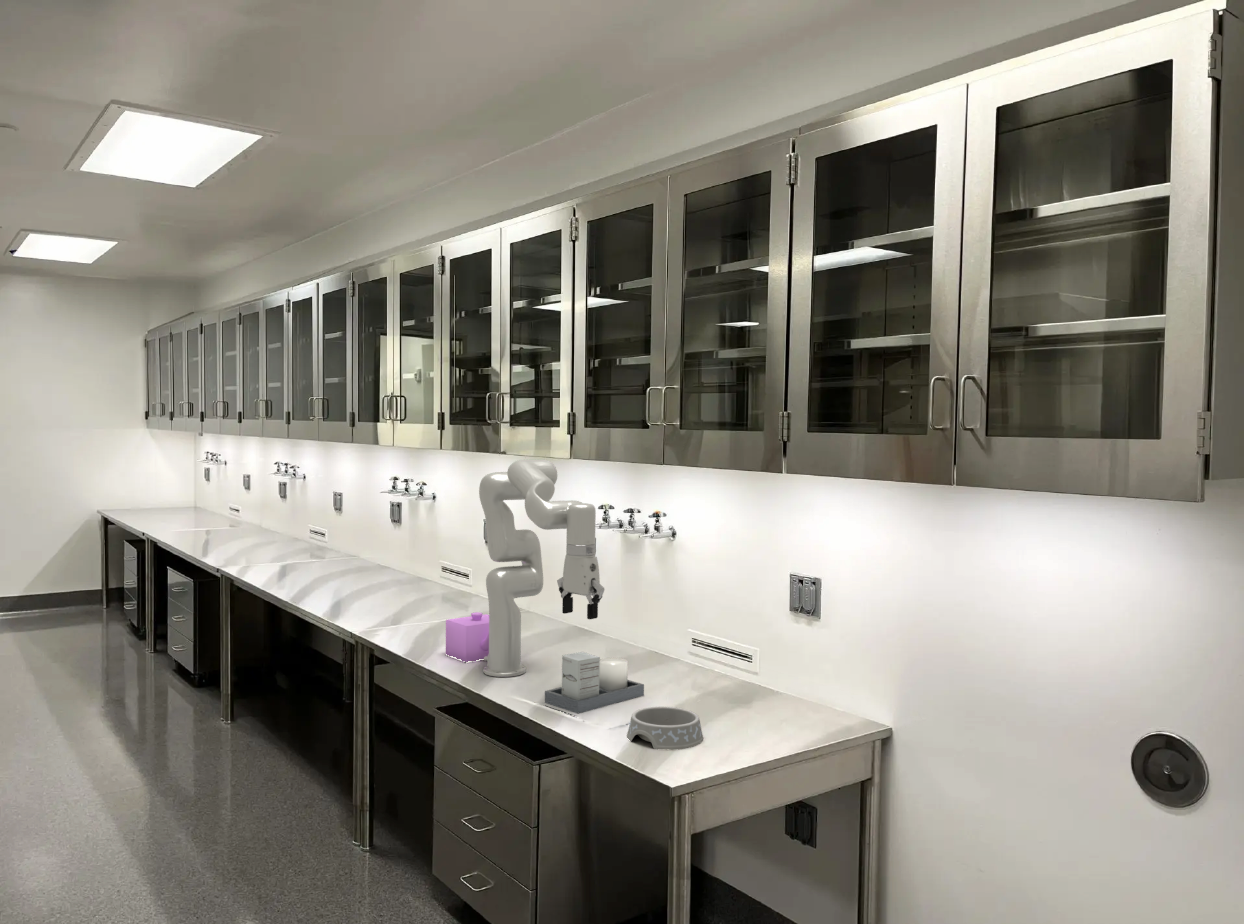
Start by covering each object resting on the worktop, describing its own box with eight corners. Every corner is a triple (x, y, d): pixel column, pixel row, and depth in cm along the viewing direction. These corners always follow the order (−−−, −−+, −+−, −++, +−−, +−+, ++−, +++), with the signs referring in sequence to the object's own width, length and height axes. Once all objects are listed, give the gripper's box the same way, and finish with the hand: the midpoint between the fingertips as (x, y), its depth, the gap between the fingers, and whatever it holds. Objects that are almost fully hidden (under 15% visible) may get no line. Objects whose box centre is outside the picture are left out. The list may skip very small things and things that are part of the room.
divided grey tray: (544, 706, 238) (544, 691, 238) (610, 689, 255) (610, 674, 255) (577, 717, 229) (577, 701, 229) (643, 699, 246) (644, 684, 246)
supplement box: (560, 702, 238) (561, 654, 238) (582, 697, 243) (583, 650, 243) (577, 709, 233) (578, 660, 232) (600, 704, 238) (600, 656, 237)
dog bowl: (657, 721, 228) (657, 700, 228) (717, 737, 216) (717, 715, 216) (612, 737, 215) (612, 715, 215) (673, 756, 203) (673, 732, 203)
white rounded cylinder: (591, 693, 247) (592, 661, 247) (613, 688, 252) (613, 656, 252) (612, 700, 241) (612, 666, 241) (633, 694, 247) (633, 661, 246)
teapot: (478, 668, 276) (478, 622, 276) (438, 652, 296) (438, 610, 295) (519, 661, 286) (520, 616, 286) (478, 646, 305) (478, 604, 305)
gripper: (614, 553, 234) (613, 619, 234) (569, 546, 246) (568, 609, 246) (592, 555, 228) (591, 623, 229) (548, 548, 241) (547, 612, 241)
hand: (579, 615), depth 238 cm, fingers open, 9 cm apart
